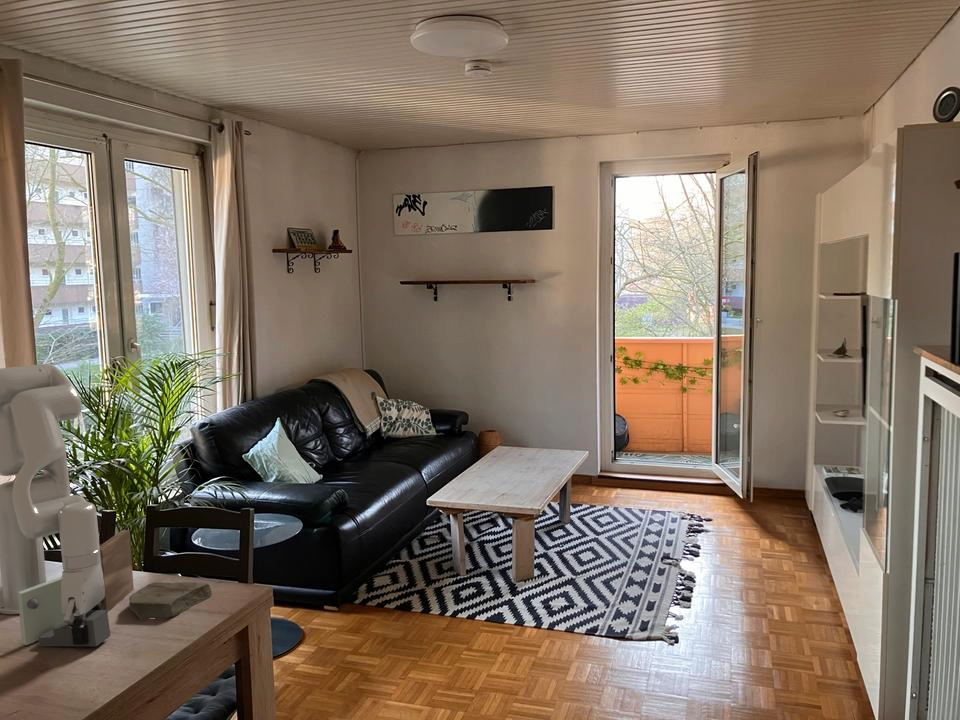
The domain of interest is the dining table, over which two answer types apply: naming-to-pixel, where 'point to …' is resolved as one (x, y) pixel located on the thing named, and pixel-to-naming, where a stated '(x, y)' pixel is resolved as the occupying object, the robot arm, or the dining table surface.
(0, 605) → the robot arm
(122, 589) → the wood grain plank
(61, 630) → the grey stepped block
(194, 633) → the dining table surface
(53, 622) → the door
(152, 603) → the marble piece
